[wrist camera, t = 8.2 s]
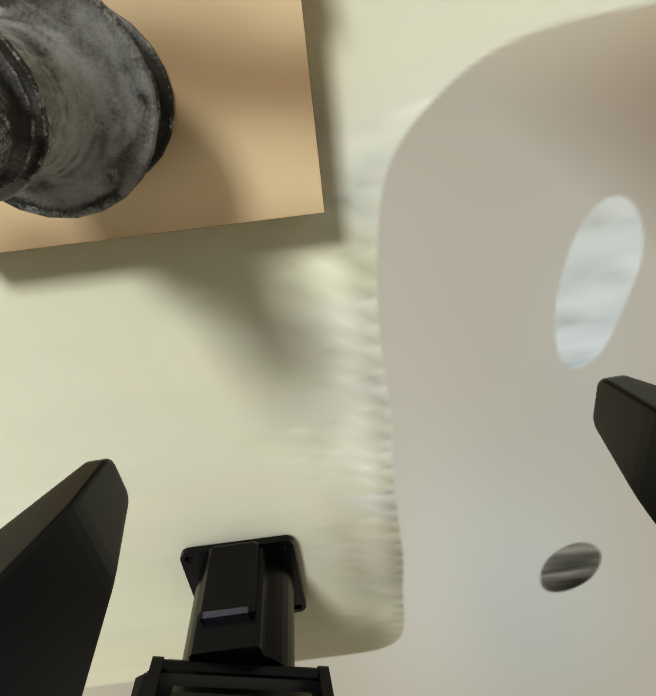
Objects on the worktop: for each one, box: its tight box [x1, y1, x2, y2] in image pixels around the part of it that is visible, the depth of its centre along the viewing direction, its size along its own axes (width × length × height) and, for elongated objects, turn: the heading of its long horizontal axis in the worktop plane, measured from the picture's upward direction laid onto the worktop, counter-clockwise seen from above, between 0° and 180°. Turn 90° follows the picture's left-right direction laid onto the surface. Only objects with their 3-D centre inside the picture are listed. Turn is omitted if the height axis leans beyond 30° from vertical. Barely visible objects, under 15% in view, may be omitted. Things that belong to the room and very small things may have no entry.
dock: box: [0, 0, 324, 253], centre depth 16 cm, size 9×14×3 cm, turn 96°
